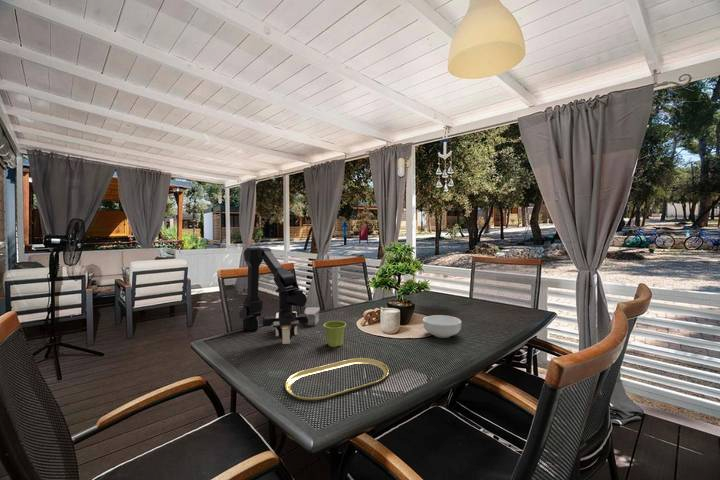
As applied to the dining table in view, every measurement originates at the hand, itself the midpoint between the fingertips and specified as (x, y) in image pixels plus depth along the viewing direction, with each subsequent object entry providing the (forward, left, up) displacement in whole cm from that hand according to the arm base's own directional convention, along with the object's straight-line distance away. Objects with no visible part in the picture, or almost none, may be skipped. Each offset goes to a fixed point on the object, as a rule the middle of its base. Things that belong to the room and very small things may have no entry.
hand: (286, 339), depth 135 cm
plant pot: (+20, -7, -2) cm, 21 cm away
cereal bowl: (+69, -6, -2) cm, 69 cm away
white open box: (0, +14, -1) cm, 14 cm away
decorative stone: (+13, +26, -2) cm, 29 cm away
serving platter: (+17, -37, -2) cm, 41 cm away
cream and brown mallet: (0, +8, -1) cm, 8 cm away
